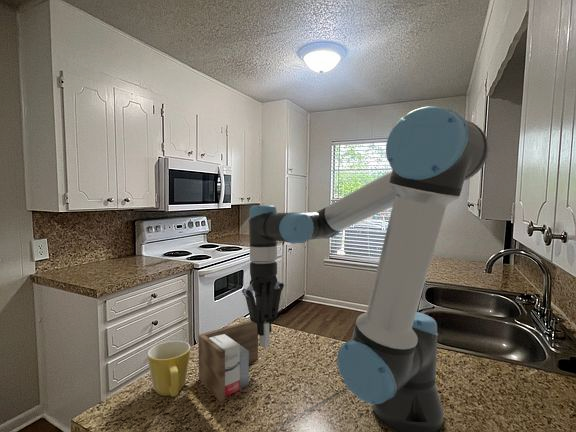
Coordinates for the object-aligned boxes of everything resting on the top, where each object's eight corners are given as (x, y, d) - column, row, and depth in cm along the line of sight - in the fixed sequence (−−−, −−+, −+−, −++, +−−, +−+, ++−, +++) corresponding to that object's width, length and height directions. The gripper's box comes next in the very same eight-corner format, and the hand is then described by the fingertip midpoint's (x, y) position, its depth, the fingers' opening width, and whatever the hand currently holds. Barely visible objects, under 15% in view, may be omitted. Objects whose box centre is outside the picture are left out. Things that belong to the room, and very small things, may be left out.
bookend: (248, 385, 81) (248, 350, 81) (240, 388, 79) (240, 353, 79) (232, 372, 87) (232, 339, 87) (224, 375, 86) (224, 342, 85)
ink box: (241, 390, 79) (241, 343, 79) (223, 397, 76) (223, 349, 75) (224, 375, 86) (224, 332, 85) (207, 382, 82) (207, 337, 82)
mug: (150, 381, 84) (150, 342, 84) (190, 375, 87) (190, 338, 87) (142, 415, 71) (142, 369, 71) (190, 406, 74) (190, 363, 74)
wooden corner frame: (280, 379, 86) (281, 332, 85) (220, 406, 74) (220, 352, 74) (255, 361, 95) (255, 319, 94) (198, 383, 84) (198, 334, 83)
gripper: (273, 257, 95) (274, 335, 96) (235, 262, 86) (237, 347, 87) (290, 260, 89) (291, 343, 90) (251, 265, 81) (252, 357, 81)
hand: (264, 345), depth 88 cm, fingers closed
